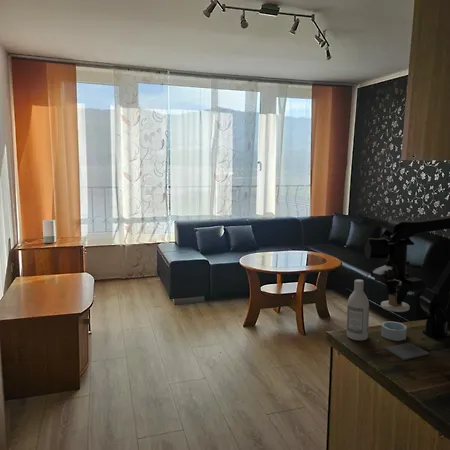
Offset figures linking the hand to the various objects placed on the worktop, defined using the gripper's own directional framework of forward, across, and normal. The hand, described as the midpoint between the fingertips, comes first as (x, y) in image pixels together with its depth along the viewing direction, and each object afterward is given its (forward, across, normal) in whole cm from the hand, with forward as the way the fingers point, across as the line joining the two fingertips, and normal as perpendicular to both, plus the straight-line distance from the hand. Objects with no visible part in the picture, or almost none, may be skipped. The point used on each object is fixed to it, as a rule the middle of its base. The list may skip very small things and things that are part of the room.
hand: (395, 302), depth 137 cm
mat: (+12, +11, -5) cm, 17 cm away
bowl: (+12, 0, 0) cm, 12 cm away
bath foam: (+12, -4, -12) cm, 18 cm away
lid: (+2, 0, 0) cm, 2 cm away
